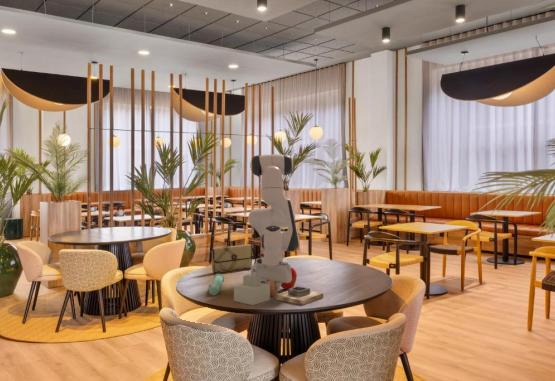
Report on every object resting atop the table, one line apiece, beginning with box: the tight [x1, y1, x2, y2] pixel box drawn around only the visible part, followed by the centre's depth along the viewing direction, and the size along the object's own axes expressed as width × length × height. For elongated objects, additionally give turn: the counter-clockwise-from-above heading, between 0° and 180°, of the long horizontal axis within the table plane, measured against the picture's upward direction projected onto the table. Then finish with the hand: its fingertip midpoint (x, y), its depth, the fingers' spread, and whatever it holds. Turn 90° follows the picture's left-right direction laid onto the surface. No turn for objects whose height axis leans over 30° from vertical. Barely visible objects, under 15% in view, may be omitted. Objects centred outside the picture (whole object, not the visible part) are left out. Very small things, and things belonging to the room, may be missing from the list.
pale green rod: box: [208, 273, 225, 296], centre depth 236 cm, size 6×6×25 cm
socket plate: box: [274, 285, 324, 306], centre depth 217 cm, size 16×16×4 cm
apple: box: [280, 267, 298, 291], centre depth 235 cm, size 9×9×12 cm
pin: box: [269, 279, 279, 297], centre depth 223 cm, size 4×4×8 cm
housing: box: [233, 274, 271, 306], centre depth 215 cm, size 12×12×11 cm
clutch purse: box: [209, 243, 257, 274], centre depth 282 cm, size 30×7×15 cm, turn 124°
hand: (273, 289), depth 223 cm, fingers closed on pin, 4 cm apart
